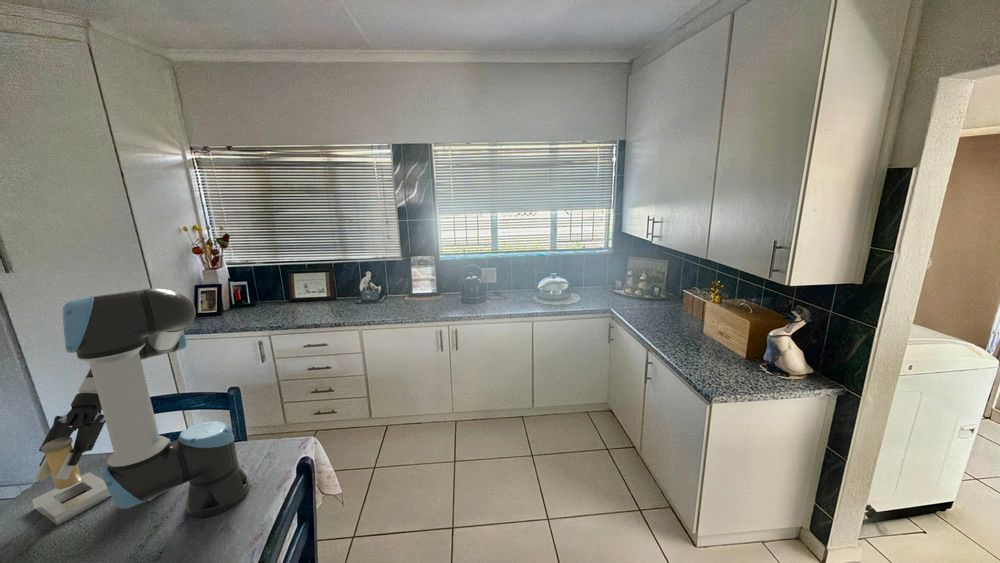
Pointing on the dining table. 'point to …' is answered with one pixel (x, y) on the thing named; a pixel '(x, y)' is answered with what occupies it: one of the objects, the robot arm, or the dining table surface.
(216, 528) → the dining table surface
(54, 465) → the yellow and grey cylinder
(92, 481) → the housing
